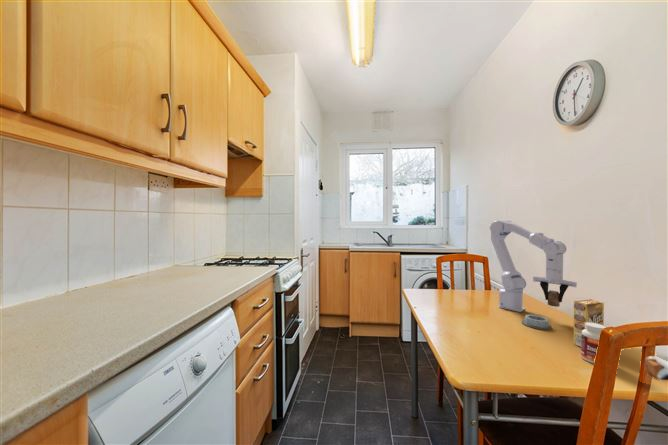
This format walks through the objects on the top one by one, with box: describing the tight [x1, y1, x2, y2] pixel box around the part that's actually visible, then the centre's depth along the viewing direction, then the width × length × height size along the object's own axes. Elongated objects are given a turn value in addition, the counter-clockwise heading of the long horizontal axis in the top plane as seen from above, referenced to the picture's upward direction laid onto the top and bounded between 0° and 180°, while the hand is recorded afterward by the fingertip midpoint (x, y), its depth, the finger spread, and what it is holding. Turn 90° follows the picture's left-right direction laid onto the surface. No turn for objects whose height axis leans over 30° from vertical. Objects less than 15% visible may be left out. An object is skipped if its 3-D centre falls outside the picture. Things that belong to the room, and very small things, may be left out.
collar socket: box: [521, 314, 553, 331], centre depth 111 cm, size 10×10×3 cm
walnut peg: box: [547, 289, 561, 308], centre depth 117 cm, size 4×4×6 cm
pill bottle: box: [580, 322, 607, 364], centre depth 83 cm, size 6×6×11 cm
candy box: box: [573, 298, 605, 348], centre depth 94 cm, size 9×4×15 cm, turn 107°
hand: (553, 300), depth 117 cm, fingers closed on walnut peg, 4 cm apart
